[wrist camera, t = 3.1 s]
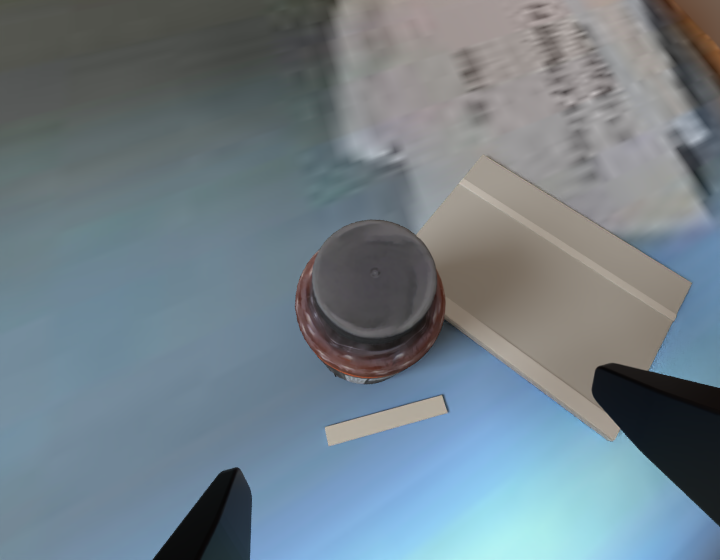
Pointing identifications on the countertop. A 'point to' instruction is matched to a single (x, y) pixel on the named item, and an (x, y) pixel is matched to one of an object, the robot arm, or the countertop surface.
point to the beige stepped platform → (548, 287)
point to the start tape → (385, 420)
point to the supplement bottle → (370, 301)
